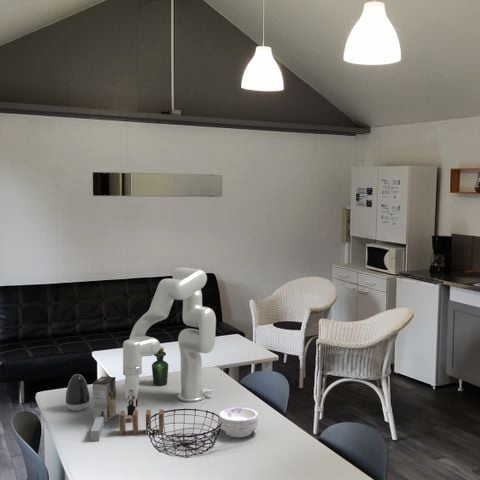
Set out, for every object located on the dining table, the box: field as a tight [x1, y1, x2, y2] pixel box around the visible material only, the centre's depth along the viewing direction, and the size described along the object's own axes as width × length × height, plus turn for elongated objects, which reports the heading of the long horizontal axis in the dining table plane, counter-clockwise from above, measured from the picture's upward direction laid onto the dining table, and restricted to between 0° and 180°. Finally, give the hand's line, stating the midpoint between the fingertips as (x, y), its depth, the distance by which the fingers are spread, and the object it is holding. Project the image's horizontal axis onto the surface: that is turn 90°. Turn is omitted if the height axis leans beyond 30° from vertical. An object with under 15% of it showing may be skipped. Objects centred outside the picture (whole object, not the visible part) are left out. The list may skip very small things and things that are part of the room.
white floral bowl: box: [218, 407, 259, 439], centre depth 235 cm, size 15×15×8 cm
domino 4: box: [145, 409, 152, 436], centre depth 236 cm, size 2×5×8 cm, turn 5°
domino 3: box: [132, 409, 139, 436], centre depth 236 cm, size 2×5×8 cm, turn 5°
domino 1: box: [119, 410, 126, 437], centre depth 236 cm, size 2×5×8 cm, turn 5°
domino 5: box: [158, 408, 165, 433], centre depth 237 cm, size 2×5×8 cm, turn 5°
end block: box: [90, 417, 105, 442], centre depth 235 cm, size 3×14×4 cm, turn 5°
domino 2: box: [130, 400, 137, 423], centre depth 249 cm, size 2×5×8 cm, turn 5°
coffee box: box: [92, 376, 117, 423], centre depth 251 cm, size 9×6×16 cm
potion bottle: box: [151, 346, 169, 387], centre depth 294 cm, size 8×8×18 cm
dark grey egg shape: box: [64, 373, 91, 412], centre depth 261 cm, size 10×10×15 cm
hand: (132, 411), depth 248 cm, fingers open, 9 cm apart
